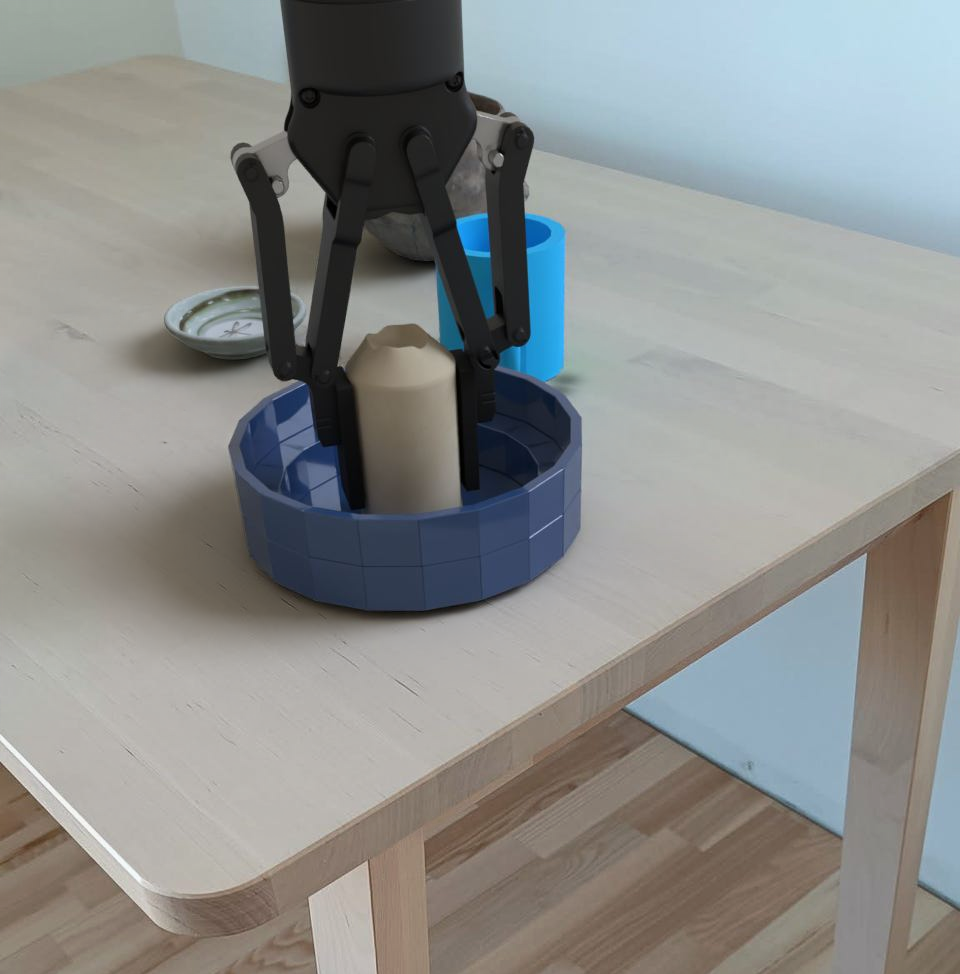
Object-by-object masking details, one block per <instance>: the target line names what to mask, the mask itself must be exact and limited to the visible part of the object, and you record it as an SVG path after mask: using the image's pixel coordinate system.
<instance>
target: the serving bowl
mask: <svg viewBox="0 0 960 974" xmlns="http://www.w3.org/2000/svg"><path fill="white" fill-rule="evenodd" d="M342 367H343V369H344V371H345V374H346V370H345V367H346V366H342ZM494 376H495V414H494V417H493V420H492V421H489V422H482V423H477V427H478V452H479V477H480V490H473V491H467V492H466V490H465V488H464V486H463V484H462V506H461V507H455V508H449V509H443V510H437V511H431V512H425V513H419V514H362V511H361V509H357V510H351V509H350V506H349V504H348V501H347V499H346V496H345V494H344V491H343V489H342V485H341V476H340V468H339V460H338V452H337V445H336V446H330V447H323V446H322V444H321V443H320V441H319V439H318V437H317V435H316V432H315V429H314V427H313V419H312V411H311V404H310V396H309V389H308V385H307V384H306V383H304V382H302V381H298V380H296V381H295V382H293V383H291V384H290V385H287V386H285V387H283V388H281V389H279V390H278V391H275V392H273V393H271V394H269V395H267V396H266V397H263V398H262V399H261V400H260V401H258V402H257V403H256V405H254V406H253V407H252V408H251V409H250V410H249V411H248V412H246V413H245V414H244V415H243V416H242V417H240V418H239V420H238V422H237V424H236V427H235V429H234V431H233V433H232V436H231V438H230V441H229V442H228V445H227V446H228V447H227V449H228V454H229V461H230V466H231V471H232V476H233V481H234V487H235V493H236V498H237V503H238V508H239V509H238V510H239V514H240V520H241V525H242V530H243V534H244V539H245V542H246V546H247V550H248V553H249V557H250V559H251V560H252V561H253V562H254V563H255V564H256V565H257V566H258V567H259V568H260V569H261V570H262V571H263V572H264V573H265V574H266V575H267V576H268V577H269V578H270V579H271V580H272V582H274V583H276V584H277V585H280V586H282V587H284V588H286V589H288V590H290V591H293V592H296V593H298V594H300V595H302V596H303V597H306V598H309V599H310V600H313V601H316V602H321V603H325V604H330V605H336V606H340V607H347V608H352V609H357V610H363V611H367V612H368V611H372V612H373V611H375V612H376V611H378V612H380V611H381V612H382V611H384V612H386V611H388V612H389V611H391V612H393V611H396V612H397V611H398V612H399V611H401V612H402V611H404V612H405V611H407V612H409V611H414V612H415V611H418V612H419V611H420V612H421V611H430V610H435V609H440V608H446V607H452V606H457V605H463V604H470V603H475V602H480V601H483V600H486V599H489V598H492V597H494V596H497V595H499V594H502V593H505V592H507V591H509V590H512V589H514V588H518V587H519V586H523V585H525V584H527V583H530V582H531V581H532V580H534V579H535V578H536V577H538V576H539V575H540V574H542V573H543V572H544V571H546V570H547V569H549V568H551V567H552V566H553V565H554V564H555V563H557V562H558V561H560V560H561V559H563V558H564V557H565V555H566V553H567V552H568V550H569V549H570V547H571V545H572V544H573V542H574V541H575V540H576V537H578V534H579V533H580V531H581V519H582V518H581V517H582V515H581V514H582V513H581V512H582V472H583V471H582V469H583V467H582V466H583V465H582V462H583V418H582V416H581V414H580V413H579V412H578V409H576V408H575V406H574V404H573V403H572V402H571V401H570V400H569V398H568V397H567V395H566V394H565V393H563V392H561V391H559V390H558V389H557V388H554V387H553V386H551V385H549V384H548V383H546V382H543V381H541V380H539V379H538V378H536V377H534V376H531V375H528V374H525V373H521V372H518V371H515V370H511V369H508V368H505V367H502V366H497V367H496V368H495V369H494Z"/></svg>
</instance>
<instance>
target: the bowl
mask: <svg viewBox="0 0 960 974" xmlns="http://www.w3.org/2000/svg"><path fill="white" fill-rule="evenodd" d="M467 92H468V94H469V97H470V98H471V100H472V102H473V104H474V106H475V108H476V111H480V112H484V113H488V114H492V115H496V116H500V115H501V114H502V113H505V112H506V110H505V107H504V106H503V105H502V103H500V102H499V101H497V100H496V99H494V98H491V97H488V96H486V95H483V94H479V93H475V92H472V91H468V90H467ZM485 169H486V167H485V166H484V165H483V164H482V163H481V162H480V160H479V159H478V156H477V144H476V141H475V140H474V139H472V140H471V141H470V143H469V145H468V147H467V149H466V150H465V152H464V154H463V156H462V158H461V159H460V161H459V163H458V165H457V167H456V168H455V170H454V172H453V174H452V176H451V177H450V179H449V181H448V183H447V185H446V186H445V187H446V190H447V193H448V196H449V199H450V202H451V205H452V209H453V212H454V215H455V218H456V219H459V218H463V217H467V216H471V215H476V214H484V213H487V201H486V186H485ZM529 189H530V186H529V184H528V183H527V181H526V179H525V180H524V203H525V202H527V201H528V199H529V197H530V190H529ZM364 229H366V231H368V232H369V234H371V235H372V236H373V237H374V238H375V239H376V241H378V243H380V245H381V246H383V247H384V248H385V249H387V250H388V251H390V252H393V253H394V254H396V255H398V256H400V257H403V258H406V259H409V260H413V261H414V260H415V261H421V262H423V261H424V262H425V261H426V262H431V261H435V260H434V257H433V254H432V251H431V249H430V246H429V243H428V240H427V237H426V234H425V231H424V228H423V225H422V222H421V220H420V217H419V215H418V214H412V215H407V214H401V213H395V212H391V213H389V214H386V215H384V216H382V217H379V218H377V219H373V220H365V222H364Z"/></svg>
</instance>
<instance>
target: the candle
mask: <svg viewBox="0 0 960 974" xmlns="http://www.w3.org/2000/svg"><path fill="white" fill-rule="evenodd" d="M344 367H345V370H346V376H347V378H348V380H349V382H350V384H351V387H352V392H353V401H354V410H355V419H356V429H357V438H358V447H359V456H360V466H361V475H362V484H363V493H364V503H365V508H364V509H361V511H362V514H419V513H425V512H431V511H437V510H443V509H449V508H455V507H461V506H462V481H461V461H460V442H459V422H458V403H457V383H456V364H455V358H454V356H453V355H452V354H451V353H450V352H449V351H448V350H447V349H446V348H445V347H444V346H443V345H442V344H441V343H440V341H438V340H437V339H435V338H434V337H433V336H432V335H430V334H429V332H427V331H426V330H425V329H424V328H422V327H421V326H420V325H418V324H417V323H411V322H410V323H405V324H404V323H403V324H390V325H386V326H384V327H383V328H382V329H380V331H378V332H377V333H371V332H370V333H369V332H368V333H367V334H366V335H365V336H364V338H363V340H362V341H361V343H360V344H359V345H358V346H357V348H356V349H355V351H354V352H353V353H352V355H351V356H350V357H349V359H348V360H347V361H346V363H345V366H344Z"/></svg>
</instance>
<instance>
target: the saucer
mask: <svg viewBox="0 0 960 974" xmlns="http://www.w3.org/2000/svg"><path fill="white" fill-rule="evenodd" d="M290 293H291V303H292V314H293V324H294V332H295V331H296V330H297V329H298V327H299V326H300V325H301V324H302V323H303V322H304V320H305V318H306V317H307V316H306V315H307V306H306V304H305V302H304V300H302V299H301V298H300V297H299V296H298V295H297V294H294V293H292V292H290ZM163 324H164V327H165V329H166V331H167V332H168V333H169V334H170V335H172V336H173V337H175V338H177V339H178V340H179V341H180V342H182V343H183V344H185V345H186V346H187V347H189V348H192V349H194V350H197V351H199V352H203V353H206V354H207V355H209V356H211V357H214V358H217V359H221V360H231V361H232V360H246V359H251V358H255V357H259V356H262V355H264V354H267V353H266V349H265V340H264V331H263V322H262V313H261V304H260V295H259V286H258V285H236V286H227V287H226V286H225V287H220V288H214V289H208V290H205V291H200V292H198V293H195V294H192V295H189V296H187V297H184V298H182V299H180V300H179V301H177V302H175V303H174V304H172V305H171V306H170V307H169V308H168V309H167V310H166V312H165V313H164V316H163Z"/></svg>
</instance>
